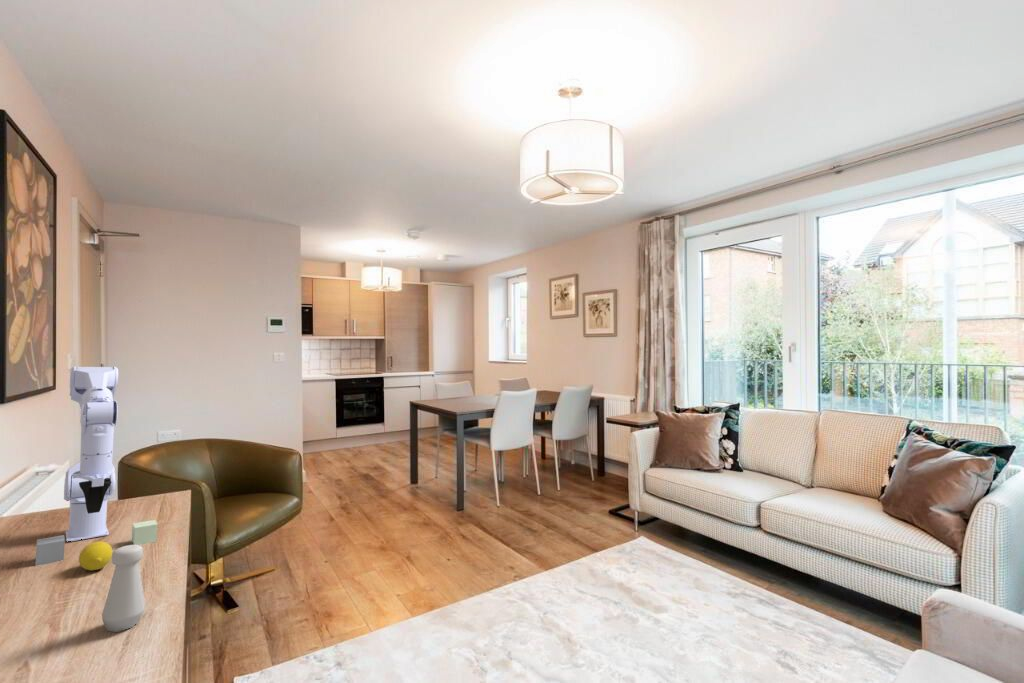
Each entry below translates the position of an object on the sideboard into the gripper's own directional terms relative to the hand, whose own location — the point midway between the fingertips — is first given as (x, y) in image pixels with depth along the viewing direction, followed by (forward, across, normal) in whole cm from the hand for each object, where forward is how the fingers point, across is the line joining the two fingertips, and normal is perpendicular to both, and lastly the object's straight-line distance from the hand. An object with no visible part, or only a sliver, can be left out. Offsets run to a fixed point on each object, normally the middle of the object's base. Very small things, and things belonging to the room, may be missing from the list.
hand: (93, 512), depth 113 cm
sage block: (+10, -1, +10) cm, 14 cm away
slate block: (+10, -1, -7) cm, 12 cm away
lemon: (+7, +7, 0) cm, 10 cm away
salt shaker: (+10, +44, +2) cm, 45 cm away
